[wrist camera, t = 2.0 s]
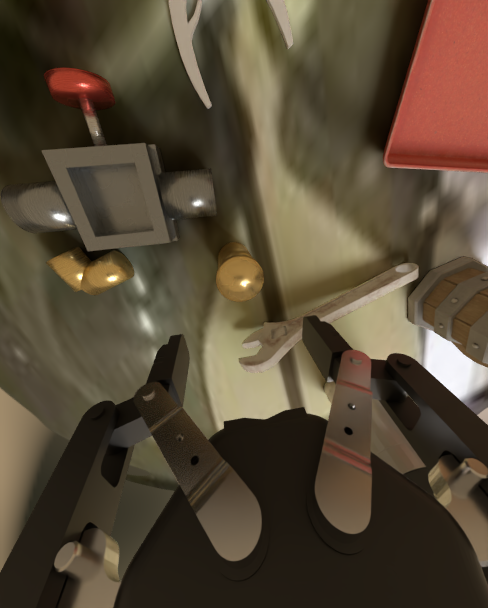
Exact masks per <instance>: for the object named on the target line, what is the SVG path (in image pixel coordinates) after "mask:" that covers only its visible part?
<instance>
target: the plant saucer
mask: <svg viewBox="0 0 488 608" xmlns="http://www.w3.org/2000/svg"><path fill="white" fill-rule="evenodd" d="M383 163H384V165H385V166H386V167H390V168H409V169H427V170H446V171H463V172H483V173H488V0H428V3H427V6H426V10H425V13H424V17H423V20H422V23H421V27H420V30H419V34H418V37H417V40H416V44H415V47H414V51H413V54H412V57H411V61H410V64H409V67H408V71H407V74H406V78H405V81H404V84H403V88H402V91H401V94H400V98H399V101H398V105H397V108H396V111H395V115H394V118H393V121H392V125H391V128H390V132H389V135H388V139H387V142H386V146H385V149H384V154H383Z"/></svg>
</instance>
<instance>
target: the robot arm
mask: <svg viewBox="0 0 488 608" xmlns="http://www.w3.org/2000/svg"><path fill="white" fill-rule="evenodd" d="M302 339H303V343H304V345H305V346H306V348H307V350H308V351H309V353H310V355H311V356H312V358H313V360H314V361H315V363H316V365H317V366H318V368H319V370H320V372H321V373H322V375H323V377H324V378H325V380H326V383H325V386H324V391H325V393H326V395H327V397H328V399H329V401H330V402H331V404H332V405H331V410H330V415H329V419H328V421H327V420H326V419H324V418H321V417H319V416H316V415H312V414H307V413H306V411H305V409H304V407H302V408H296V409H291V410H285V411H283V412H281V413H279V414H276V415H274V416H272V417H270V418H268V419H251V418H241V419H235V420H230V421H224V429H222V430H220V431H219V432H217V433H215V434H214V435H213V436H212V437H211V438H210V439H209V440H208V439H207V438H206V437H205V435H204V434H203V433H202V432H201V430H200V429H199V428H198V427H197V425H196V424H195V423H194V421H193V420H192V419H191V418H190V416H189V415H188V414H187V413H186V411H185V410H184V409H183V408H182V407H183V402H184V395H185V388H186V381H187V375H188V368H189V360H190V358H189V351H188V348H187V345H186V341H185V338H184V335H183V334H180V335H173V336H170V339H169V342H168V344H166V345H163V346H162V347H161V348H160V349H159V350H158V352H157V355H156V357H155V358H156V359H155V360H154V364H153V366H152V369H151V371H150V374H149V377H148V380H147V383H146V384H145V385H143V386H142V387H140V388H139V389H138V390H137V392H136V393H135V395H134V397H133V398H131V399H129V400H127V401H124V402H122V403H120V404H117V405H115V404H114V403H113V402H112V401H103V402H100V403H98V404H96V405H94V406H93V407H91V408H90V409H89V410H88V411H87V412H86V413H85V414H84V415H83V417H82V419H81V421H80V423H79V424H78V426H77V428H76V430H75V432H74V434H73V436H72V438H71V440H70V442H69V443H68V445H67V447H66V449H65V451H64V453H63V455H62V457H61V458H60V460H59V462H58V464H57V466H56V468H55V470H54V472H53V474H52V476H51V477H50V480H49V481H48V483H47V485H46V487H45V489H44V491H43V493H42V495H41V496H40V498H39V500H38V502H37V504H36V506H35V508H34V510H33V511H32V513H31V515H30V517H29V519H28V521H27V523H26V525H25V527H24V529H23V530H22V533H21V534H20V536H19V538H18V540H17V542H16V544H15V545H14V547H13V549H12V552H11V553H10V555H9V557H8V559H7V561H6V563H5V564H4V567H3V568H2V570H1V572H0V608H488V425H487V424H486V423H485V422H484V421H482V420H481V419H480V418H479V417H478V416H477V415H476V414H475V413H474V412H473V411H471V410H470V409H469V408H468V407H467V406H466V405H465V404H464V403H463V402H461V401H460V400H459V399H458V398H457V397H456V396H455V395H454V394H453V393H451V392H450V391H449V390H448V389H447V388H446V387H445V386H444V385H443V384H442V383H440V382H439V381H438V380H437V379H436V378H435V377H434V376H433V375H432V374H430V373H429V372H428V371H427V370H426V369H425V368H424V367H423V366H422V365H420V364H419V363H418V362H417V361H416V360H415V359H413V358H411V357H409V356H407V355H404V354H399V353H394V354H390V355H389V356H388V358H387V360H376V359H370V358H369V357H368V356H367V355H366V354H364V353H363V352H360V351H357V350H353V349H352V348H351V347H350V346H349V344H348V343H347V342H346V341H345V340H344V339H343V338H342V337H341V335H340V334H339V333H338V332H337V331H336V330H335V329H334V327H333V326H332V325H330V324H329V323H327V322H325V321H320V319H319V318H318V317H317V316H316V315H311V316H304V317H303V327H302ZM408 395H409V396H410V397H411V398H410V397H409V396H408ZM414 402H415V403H416V404H417V405H416V404H415V403H414ZM150 436H153V438H154V440H155V442H156V443H157V445H158V447H159V449H160V451H161V452H162V454H163V456H164V458H165V460H166V461H167V463H168V465H169V467H170V468H171V470H172V472H173V474H174V476H175V477H176V479H177V481H178V483H179V485H178V487H177V489H176V490H175V492H174V494H173V495H172V497H171V498H170V500H169V502H168V503H167V505H166V506H165V508H164V509H163V511H162V512H161V514H160V516H159V517H158V519H157V520H156V522H155V524H154V525H153V527H152V528H151V530H150V532H149V533H148V535H147V536H146V538H145V540H144V541H143V543H142V544H141V546H140V548H139V549H138V551H137V552H136V554H135V555H134V557H133V559H132V561H131V562H130V564H129V566H128V568H127V570H126V572H125V574H124V576H123V579H122V581H121V582H120V579H119V576H118V560H119V546H118V544H117V542H116V541H115V540H114V539H113V538H112V537H110V536H111V532H112V529H113V524H114V521H115V517H116V513H117V509H118V506H119V502H120V498H121V494H122V490H123V487H124V483H125V479H126V475H127V471H128V468H129V464H130V460H131V456H132V452H133V449H134V445H135V444H136V443H138V442H140V441H142V440H144V439H146V438H148V437H150Z"/></svg>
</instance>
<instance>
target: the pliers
mask: <svg viewBox="0 0 488 608" xmlns="http://www.w3.org/2000/svg"><path fill="white" fill-rule="evenodd" d="M266 1H267V3H268V5H269V7H270V9H271V11H272V13H273V15H274V17H275V20H276V22H277V24H278V27H279V29H280V32H281V34H282V36H283V39H284V42H285V44H286V47H287V49H288V48H290V47H291V46H292V45H293V39H292V33H291V27H290V22H289V17H288V12H287V9H286V5H285V2H284V0H266ZM201 7H202V0H198V2H197V6H196V10H195V14H194V15H193V17H192V18H191V20H190V21H189V23H188V21H187V13H186V0H169V8H170V13H171V19H172V24H173V28H174V32H175V37H176V41H177V44H178V48H179V51H180V54H181V58H182V61H183V63H184V66H185V68H186V71H187V74H188V76H189V78H190V80H191V82H192V84H193V86H194V88H195V90H196V92H197V93H198V95H199V97H200V98H201V100H202V102H203V103H204V105H205V106H206V108H207V109H209V108H210V107H211V106H212V105H211V102H210V100H209V97H208V95H207V92H206V89H205V86H204V84H203V81H202V78H201V75H200V72H199V69H198V66H197V62H196V58H195V55H194V51H193V46H192V37H193V33H194V30H195V28H196V26H197V23H198V21H199V17H200V12H201Z"/></svg>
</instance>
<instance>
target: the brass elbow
mask: <svg viewBox="0 0 488 608" xmlns="http://www.w3.org/2000/svg"><path fill="white" fill-rule="evenodd" d="M46 264H47V265H49V266H50V267H51V268H52V269H53V270H54V271H55V272H56V273H57V274H58V275H59V276H60V277H61V278H62V279H63V280H64V281H65V282H66V283H67V284H68V285H69V286H70V287H71V288H72V289H73V290H74V291H75V292H77V291H79V290H81V289H82V290H83V291H85V292H86V293H88V294H91V295H98V294H100V293H102V292H104V291H106V290H108V289H110V288H112V287H114V286H116V285H118V284H120V283H122V282H124V281H126V280H128V279H130V278H132V277H133V276H134V269H133V266H132V264H131V263H130V261H129V260H128V259H127V258H126V257H125V256H124V255H123V254H122V253H120V252H118V251H115V250H114V251H111V252H109V253H107V254H105V255H104V256H102V257H100V258H98V259H96V260H94V261H91V260H90V259H89V258H88V257H87V255H86V254H85V253H84V252H83V251H82V250H81V249H80V248H79V247H76V248H73V249H71V250H69V251H67V252H65V253H63V254H61V255H59V256H57V257H55V258H53V259H51V260H49V261H47V262H46Z"/></svg>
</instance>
